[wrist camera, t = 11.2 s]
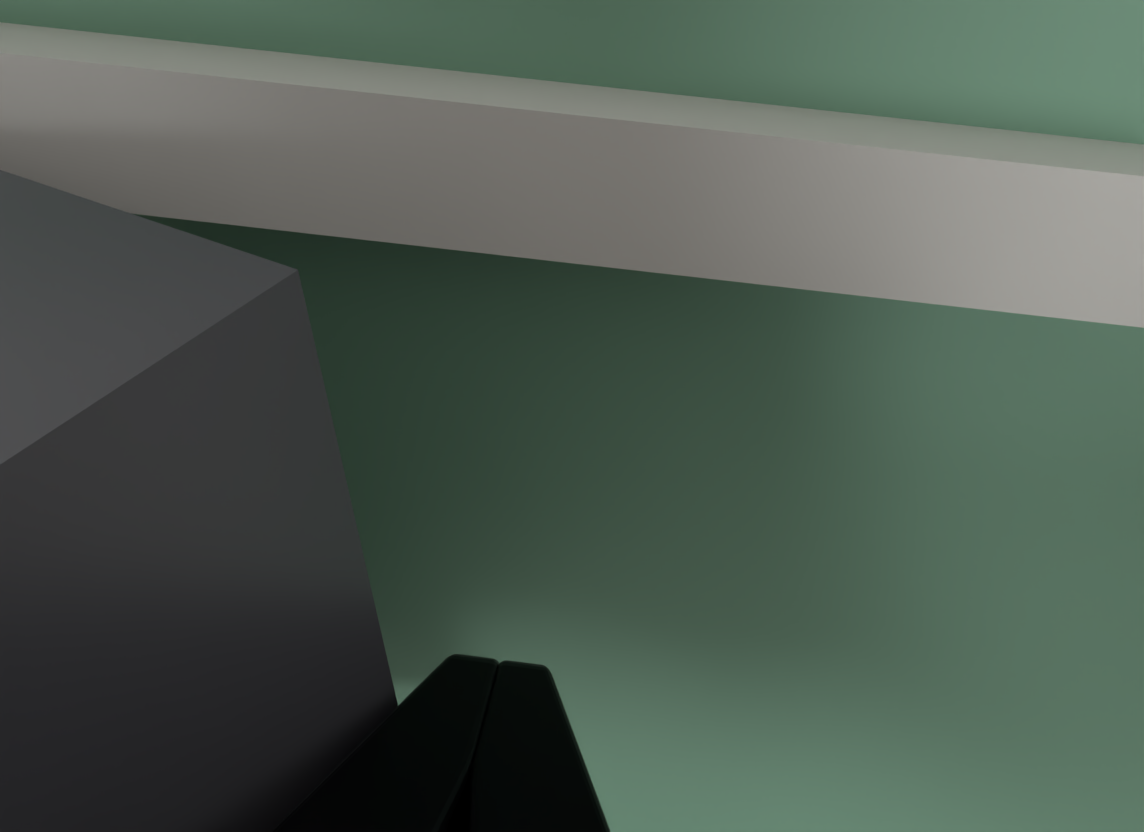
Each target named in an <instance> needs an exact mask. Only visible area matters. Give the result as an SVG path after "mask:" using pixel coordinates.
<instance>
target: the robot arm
mask: <svg viewBox="0 0 1144 832" xmlns="http://www.w3.org/2000/svg"><path fill="white" fill-rule="evenodd" d="M270 832H611V831H610V828H609V826H608V823H607V820H606V818H605V815H604V812H603V810H602V807H601V804H600V801H599V799H598V796H597V793H596V791H595V788H594V785H593V783H592V780H591V777H590V775H589V772H588V769H587V767H586V764H585V761H584V759H583V756H582V753H581V751H580V748H579V745H578V743H577V740H576V737H575V734H574V732H573V729H572V726H571V724H570V721H569V718H568V716H567V713H566V710H565V708H564V705H563V702H562V700H561V697H560V694H559V692H558V689H557V686H556V684H555V681H554V678H553V676H552V673H551V672H550V670H549V668H547V667H546V666H545V665H541V664H533V663H526V662H518V661H510V660H504V661H502V662H500V663H499V662H498V661H497V660H496V659H493V658H487V657H479V656H471V655H463V654H453V655H450V656H448V657H447V658H446V659H445V660H444V661H443V662H442V663H441V664H440V665H439V666H438V667H437V668H436V669H435V670H434V671H433V672H432V673H431V674H430V675H429V676H428V677H427V678H426V679H425V680H424V681H423V682H421V683H420V684H419V685H418V686H417V687H416V688H415V689H414V690H413V691H412V692H411V693H410V694H409V695H408V696H407V697H406V698H405V699H404V700H403V701H402V702H401V703H400V704H399V705H398V706H397V707H396V708H395V709H394V710H393V711H392V712H391V713H390V714H389V715H388V716H387V717H386V718H385V719H384V720H383V721H382V722H381V723H380V724H379V725H378V726H377V727H376V728H375V729H374V730H373V731H372V732H371V733H370V734H369V735H368V736H367V737H366V738H365V739H364V740H363V741H362V742H361V743H360V744H359V745H358V746H357V747H356V748H355V749H354V750H352V751H351V752H350V753H349V754H348V755H347V756H346V757H345V758H344V759H343V760H342V761H341V762H340V763H339V764H338V765H337V766H336V767H335V768H334V769H333V770H332V771H331V772H330V773H329V774H328V775H327V776H326V777H325V778H324V779H323V780H322V781H321V782H320V783H319V784H318V785H317V786H316V787H315V788H314V789H313V790H312V791H311V792H310V793H309V794H308V795H307V796H306V797H305V798H304V799H303V800H302V801H301V802H300V803H299V804H298V805H297V806H296V807H295V808H294V809H293V810H292V811H291V812H290V813H289V814H288V815H287V816H286V817H284V818H283V819H282V820H281V821H280V822H279V823H278V824H277V825H276V826H275V827H274V828H273V829H272V830H271V831H270Z"/></svg>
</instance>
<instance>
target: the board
mask: <svg viewBox="0 0 1144 832" xmlns="http://www.w3.org/2000/svg"><path fill="white" fill-rule="evenodd" d="M0 170H2V171H5V172H8V173H11V174H14V175H17V176H20V177H23V178H26V179H29V180H32V181H35V182H38V183H41V184H44V185H47V186H50V187H53V188H56V189H59V190H62V191H65V192H68V193H71V194H74V195H77V196H80V197H83V198H86V199H89V200H92V201H95V202H98V203H101V204H104V205H107V206H110V207H113V208H116V209H119V210H122V211H125V212H128V213H130V214H133V215H136V216H139V217H142V218H145V219H148V220H151V221H154V222H157V223H160V224H163V225H166V226H169V227H172V228H175V229H178V230H181V231H184V232H187V233H190V234H193V235H196V236H199V237H202V238H205V239H208V240H211V241H214V242H217V243H220V244H223V245H226V246H229V247H232V248H235V249H238V250H241V251H244V252H247V253H250V254H253V255H256V256H259V257H262V258H265V259H268V260H271V261H274V262H276V263H279V264H282V265H285V266H288V267H291V268H294V269H297V270H298V272H299V277H300V281H301V285H302V290H303V294H304V298H305V303H306V307H307V311H308V316H309V320H310V324H311V329H312V333H313V337H314V342H315V346H316V350H317V355H318V359H319V364H320V368H321V372H322V377H323V381H324V385H325V390H326V394H327V398H328V403H329V407H330V411H331V416H332V420H333V424H334V429H335V433H336V438H337V442H338V446H339V451H340V455H341V459H342V464H343V468H344V472H345V477H346V481H347V485H348V490H349V494H350V498H351V503H352V507H353V512H354V516H355V520H356V525H357V529H358V533H359V538H360V542H361V546H362V551H363V555H364V559H365V564H366V568H367V572H368V577H369V581H370V585H371V590H372V594H373V599H374V603H375V607H376V612H377V616H378V620H379V625H380V629H381V633H382V638H383V642H384V646H385V651H386V655H387V659H388V664H389V668H390V673H391V677H392V681H393V686H394V690H395V694H396V699H397V703H398V705H399V704H400V703H401V702H402V701H403V700H404V699H405V698H406V697H407V696H408V695H409V694H410V693H411V692H412V691H413V690H414V689H415V688H416V687H417V686H418V685H419V684H420V683H421V682H423V681H424V680H425V679H426V678H427V677H428V676H429V675H430V674H431V673H432V672H433V671H434V670H435V669H436V668H437V667H438V666H439V665H440V664H441V663H442V662H443V661H444V660H445V659H446V658H447V657H448V656H450V655H453V654H463V655H471V656H479V657H487V658H493V659H496V660H497V661H498V662H499V663H500V662H502V661H504V660H510V661H518V662H526V663H533V664H541V665H545V666H546V667H547V668H549V670H550V672H551V673H552V676H553V678H554V681H555V684H556V686H557V689H558V692H559V694H560V697H561V700H562V702H563V705H564V708H565V710H566V713H567V716H568V718H569V721H570V724H571V726H572V729H573V732H574V734H575V737H576V740H577V743H578V745H579V748H580V751H581V753H582V756H583V759H584V761H585V764H586V767H587V769H588V772H589V775H590V777H591V780H592V783H593V785H594V788H595V791H596V793H597V796H598V799H599V801H600V804H601V807H602V810H603V812H604V815H605V818H606V820H607V823H608V826H609V828H610V831H611V832H1144V0H0Z"/></svg>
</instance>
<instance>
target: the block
mask: <svg viewBox="0 0 1144 832" xmlns="http://www.w3.org/2000/svg"><path fill="white" fill-rule="evenodd" d="M397 706H398V703H397V699H396V694H395V690H394V686H393V681H392V677H391V673H390V668H389V664H388V659H387V655H386V651H385V646H384V642H383V638H382V633H381V629H380V625H379V620H378V616H377V612H376V607H375V603H374V599H373V594H372V590H371V585H370V581H369V577H368V572H367V568H366V564H365V559H364V555H363V551H362V546H361V542H360V538H359V533H358V529H357V525H356V520H355V516H354V512H353V507H352V503H351V498H350V494H349V490H348V485H347V481H346V477H345V472H344V468H343V464H342V459H341V455H340V451H339V446H338V442H337V438H336V433H335V429H334V424H333V420H332V416H331V411H330V407H329V403H328V398H327V394H326V390H325V385H324V381H323V377H322V372H321V368H320V364H319V359H318V355H317V350H316V346H315V342H314V337H313V333H312V329H311V324H310V320H309V316H308V311H307V307H306V303H305V298H304V294H303V290H302V285H301V281H300V277H299V272H298V270H297V269H294V268H291V267H288V266H285V265H282V264H279V263H276V262H274V261H271V260H268V259H265V258H262V257H259V256H256V255H253V254H250V253H247V252H244V251H241V250H238V249H235V248H232V247H229V246H226V245H223V244H220V243H217V242H214V241H211V240H208V239H205V238H202V237H199V236H196V235H193V234H190V233H187V232H184V231H181V230H178V229H175V228H172V227H169V226H166V225H163V224H160V223H157V222H154V221H151V220H148V219H145V218H142V217H139V216H136V215H133V214H130V213H128V212H125V211H122V210H119V209H116V208H113V207H110V206H107V205H104V204H101V203H98V202H95V201H92V200H89V199H86V198H83V197H80V196H77V195H74V194H71V193H68V192H65V191H62V190H59V189H56V188H53V187H50V186H47V185H44V184H41V183H38V182H35V181H32V180H29V179H26V178H23V177H20V176H17V175H14V174H11V173H8V172H5V171H2V170H0V832H270V831H271V830H272V829H273V828H274V827H275V826H276V825H277V824H278V823H279V822H280V821H281V820H282V819H283V818H284V817H286V816H287V815H288V814H289V813H290V812H291V811H292V810H293V809H294V808H295V807H296V806H297V805H298V804H299V803H300V802H301V801H302V800H303V799H304V798H305V797H306V796H307V795H308V794H309V793H310V792H311V791H312V790H313V789H314V788H315V787H316V786H317V785H318V784H319V783H320V782H321V781H322V780H323V779H324V778H325V777H326V776H327V775H328V774H329V773H330V772H331V771H332V770H333V769H334V768H335V767H336V766H337V765H338V764H339V763H340V762H341V761H342V760H343V759H344V758H345V757H346V756H347V755H348V754H349V753H350V752H351V751H352V750H354V749H355V748H356V747H357V746H358V745H359V744H360V743H361V742H362V741H363V740H364V739H365V738H366V737H367V736H368V735H369V734H370V733H371V732H372V731H373V730H374V729H375V728H376V727H377V726H378V725H379V724H380V723H381V722H382V721H383V720H384V719H385V718H386V717H387V716H388V715H389V714H390V713H391V712H392V711H393V710H394V709H395V708H396V707H397Z"/></svg>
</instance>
